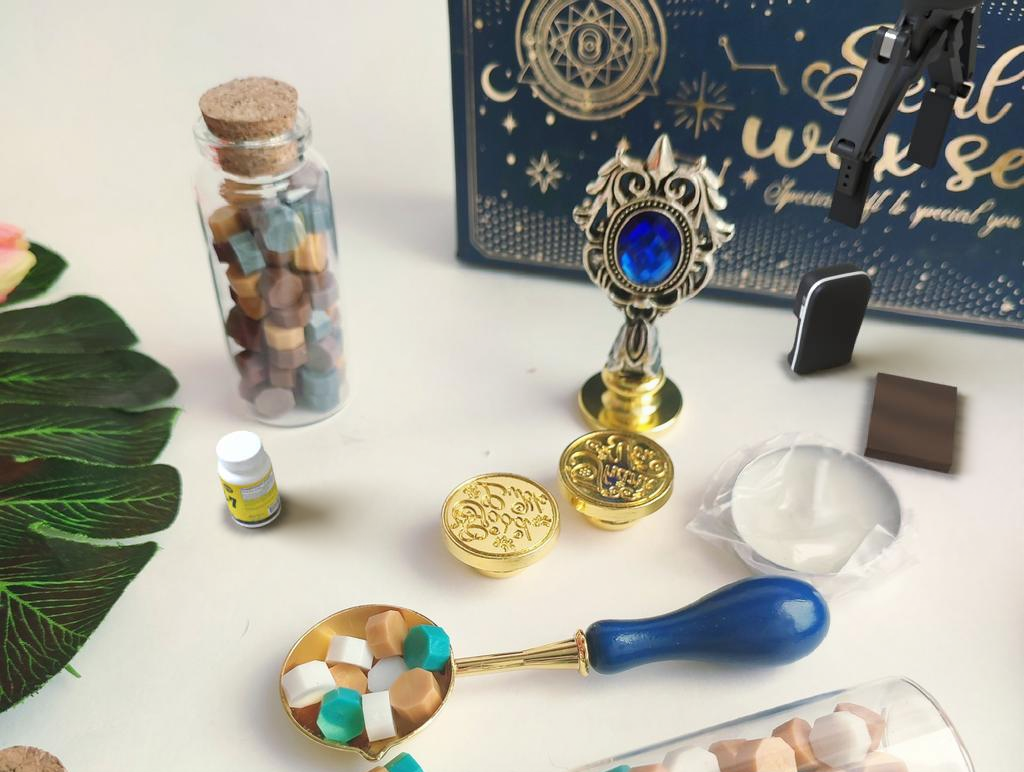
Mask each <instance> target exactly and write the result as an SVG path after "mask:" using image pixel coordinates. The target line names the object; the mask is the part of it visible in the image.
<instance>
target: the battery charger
mask: <svg viewBox="0 0 1024 772" xmlns="http://www.w3.org/2000/svg"><path fill="white" fill-rule="evenodd" d="M872 287H873V281H872V279H871V276H870V275H869V274H868V273H867V272H866V271H863V270H862V268H861V267H860V266H859V265H858V264H856V263H854V262H843V263H837V264H831V265H827V266H822V267H818V268H814V269H811V270H809V271H808V272H805V274H804V275H803V276H802V278H801V279H800V282H799V284H798V287H797V291H796V295H795V299H794V302H793V307H792V313H793V314H794V316H795V317H796V318H797V324H796V329H795V335H794V342H793V344H792V345H793V346H792V349H791V350H790V352H789V353H788V354H787V358H786V360H787V363H788V365H789V366H790V369H791V370H792V372H794V373H795V374H796V375H800V374H801V375H802V374H806V373H811V372H818V371H823V370H827V369H830V368H831V369H832V368H835V367H839V366H842V365H847V364H850V363H851V362H852V358H853V353H854V349H855V346H856V342H857V339H858V336H859V333H860V330H861V328H862V325H863V322H864V319H865V316H866V312H867V308H868V305H869V302H870V298H871V293H872V289H873V288H872Z"/></svg>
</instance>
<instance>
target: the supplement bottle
mask: <svg viewBox="0 0 1024 772" xmlns="http://www.w3.org/2000/svg"><path fill="white" fill-rule="evenodd" d="M216 454H217V460H218V463H217V472H218V476H219V479H220V483H221V486H222V490H223V493H224V496H225V500H226V503H227V506H228V510H229V513H230V516H231V519H233V521H234V522H235V523H237V524H238V525H240V526H242V527H244V528H245V527H246V528H259V527H263V526H266V525H268V524H270V523H272V522H273V521H274V520H275V519H276V518H277V517H278V516H279V515H280V512H281V510H282V502H281V497H280V493H279V489H278V484H277V480H276V476H275V471H274V467H273V464H272V463H273V462H272V460H271V457H270V455H269V454H268V453H267V451H266V450H265V448H264V443H263V441H262V439H261V437H260V436H259V435H258V434H257V433H254V432H252V431H249V430H238V431H233V432H230V433H228V434H226V435H224V436H223V437H221V439H220V440H219V441H218V443H217V445H216Z"/></svg>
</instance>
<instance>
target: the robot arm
mask: <svg viewBox="0 0 1024 772" xmlns="http://www.w3.org/2000/svg"><path fill="white" fill-rule="evenodd" d="M900 1H901V4H902V6H903V8H902V10H901V12H900V16H899V17H898V19H897V20H896V23H895V24H894V26H893V28H891V27H888V26H885V25H880V26H879V27H878V28H877V30H876V32H875V35H874V37H873V42H872V44H871V45H872V46H871V48H870V52H869V55H868V59H867V61H866V62H865V65H864V68H863V70H862V73H861V74H860V77H859V80H858V82H857V84H856V87H855V89H854V91H853V93H852V96H851V98H850V100H849V103H848V105H847V107H846V109H845V111H844V112H845V113H844V114H843V117H842V119H841V121H840V124H839V127H838V129H837V131H836V133H835V135H834V138H833V140H832V142H831V145H830V148H829V151H830V154H832V155H836V156H838V157H841V161H840V165H839V170H838V173H837V177H836V182H835V186H834V190H833V193H832V198H831V202H830V207H829V211H828V215H827V219H830V220H832V221H835V222H836V223H839V224H842V225H844V226H846V227H849V228H851V229H853V230H856V229H857V228H858V227H860V225H861V223H862V222H861V221H862V218H863V214H864V210H865V206H866V202H867V200H868V199H867V198H868V195H869V191H870V187H871V184H872V180H873V176H874V172H875V168H876V164H877V161H878V156H877V155H874V153H875V152H876V150H877V148H878V146H879V144H880V142H881V140H882V139H883V136H884V134H885V133H886V131H887V129H888V127H889V126H890V124H891V122H892V120H893V118H894V116H895V114H896V113H897V111H898V109H899V107H900V105H901V103H902V102H903V100H904V98H905V96H906V94H907V92H908V91H909V89H910V87H911V86H912V85H915V84H917V83H919V82H920V81H921V79H922V77H923V75H924V73H925V72H926V70H927V73H928V78H929V84H930V88H931V89H933V90H934V91H932V90H930V89H928V90H926V91H925V92H923V95H922V99H921V103H920V106H919V109H918V113H917V117H916V120H915V124H914V128H913V130H912V134H911V138H910V142H909V145H908V149H907V152H906V155H905V160H904V161H907V162H911V163H912V164H916V165H918V166H921V167H923V168H926V169H929V170H931V171H932V170H933V169H934V168H936V166H937V162H938V159H939V157H940V153H941V150H942V147H943V144H944V140H945V136H946V133H947V131H948V127H949V124H950V120H951V117H952V114H953V111H954V107H955V104H956V101H957V99H955V97H957V98H958V99H959V98H960V99H963V100H966V99H967V98H968V96H969V94H970V93H971V91H972V85H969V84H966V83H970V82H971V81H972V79H973V78H974V76H975V72H976V61H977V52H978V41H979V31H980V30H979V29H980V21H981V19H980V18H981V10H982V6H983V4H984V2H985V0H900ZM964 82H965V83H964Z"/></svg>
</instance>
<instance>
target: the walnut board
mask: <svg viewBox="0 0 1024 772" xmlns="http://www.w3.org/2000/svg"><path fill="white" fill-rule="evenodd" d="M873 384H874V385H873V390H872V391H873V392H872V396H871V397H872V398H871V404H870V412H869V417H868V424H867V429H866V431H867V432H866V436H865V444H864V451H863V457H867V458H872V459H877V460H882V461H887V462H891V463H896V464H901V465H906V466H910V467H914V468H920V469H925V470H928V471H934V472H939V473H944V474H949V473H950V470H951V468H952V465H953V456H954V455H953V453H954V440H955V439H954V438H955V425H956V423H955V422H956V413H957V412H956V411H957V398H958V386H953V385H948V384H944V383H938V382H933V381H928V380H922V379H917V378H911V377H906V376H901V375H895V374H890V373H885V372H881V371H880V372H879V371H877V373H876V376H875V379H874V383H873Z"/></svg>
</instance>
